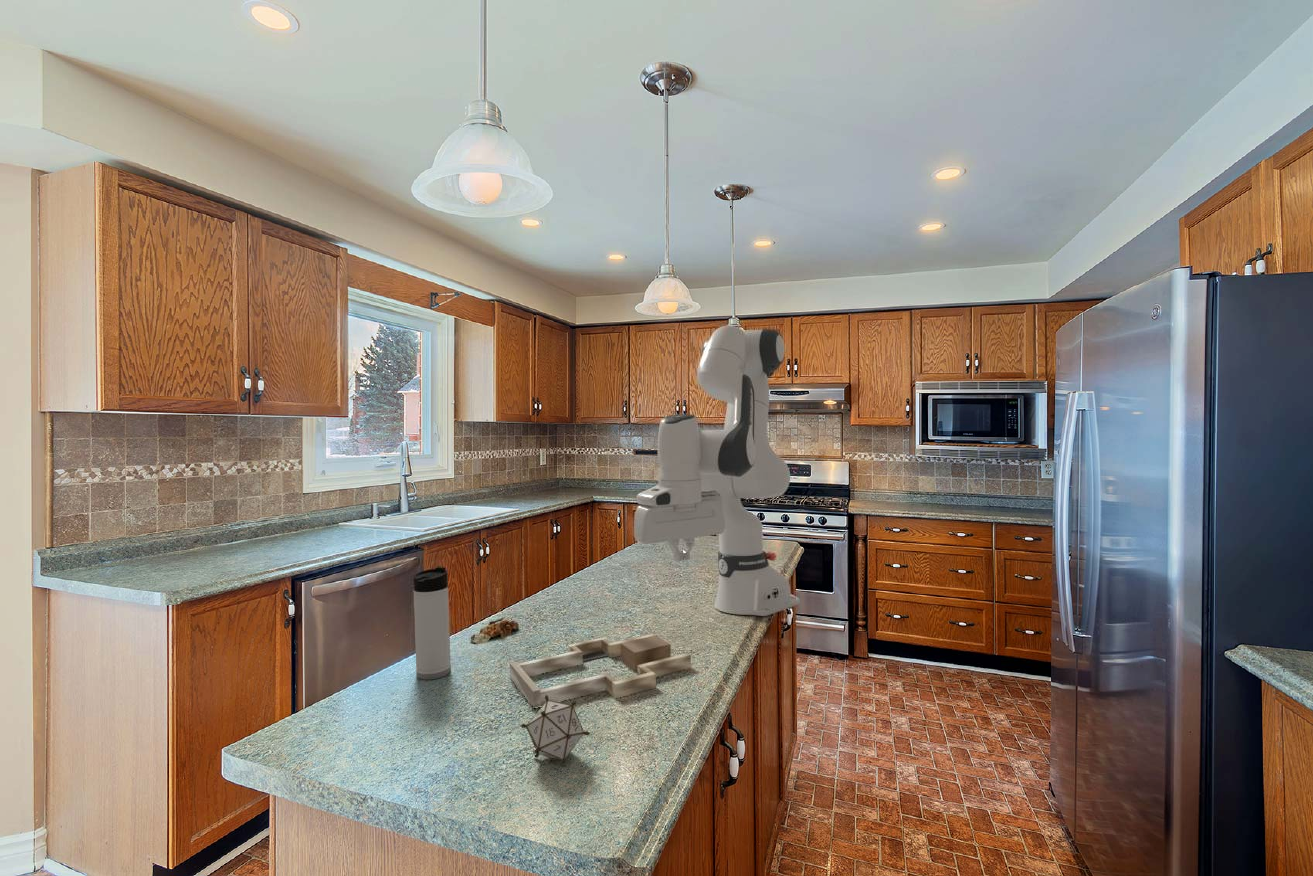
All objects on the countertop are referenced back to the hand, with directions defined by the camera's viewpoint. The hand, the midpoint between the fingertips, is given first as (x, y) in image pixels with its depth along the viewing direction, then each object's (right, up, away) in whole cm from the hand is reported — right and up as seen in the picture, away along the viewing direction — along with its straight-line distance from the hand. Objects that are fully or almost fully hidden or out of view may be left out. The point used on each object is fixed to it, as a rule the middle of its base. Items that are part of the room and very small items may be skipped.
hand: (681, 560), depth 122 cm
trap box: (-16, -20, -9) cm, 27 cm away
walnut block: (-7, -20, -4) cm, 21 cm away
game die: (-20, -21, -37) cm, 47 cm away
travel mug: (-48, -21, -7) cm, 53 cm away
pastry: (-42, -21, +14) cm, 49 cm away
